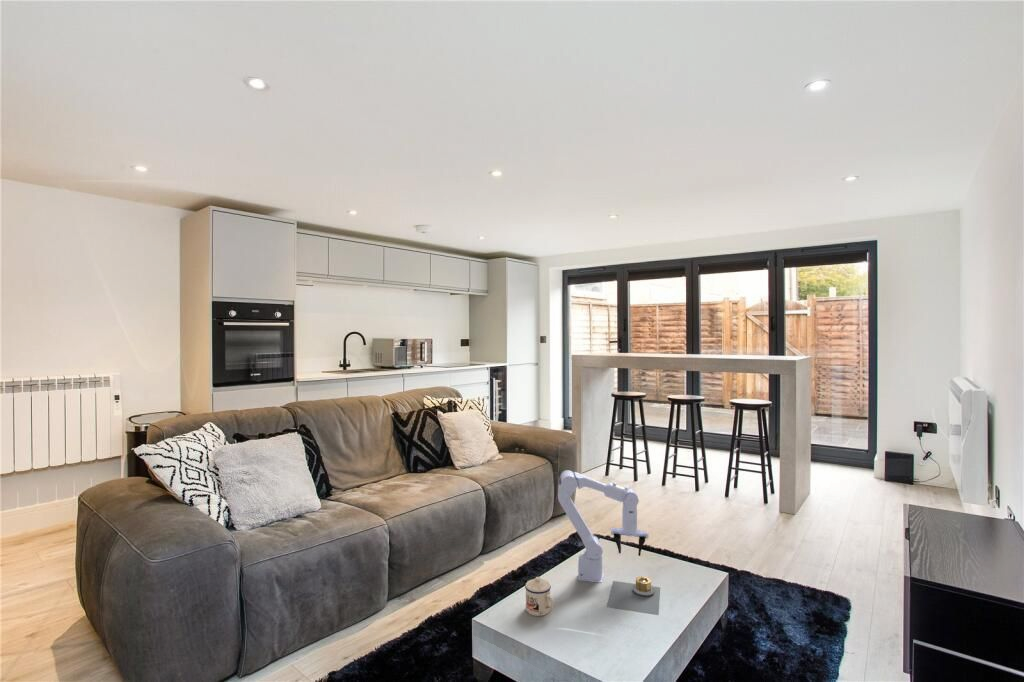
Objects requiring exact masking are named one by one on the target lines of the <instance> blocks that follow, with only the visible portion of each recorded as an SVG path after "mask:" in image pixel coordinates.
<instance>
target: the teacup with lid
mask: <svg viewBox="0 0 1024 682" xmlns="http://www.w3.org/2000/svg"><path fill="white" fill-rule="evenodd" d="M551 586H552V585H551V584H550V582H549V581H548V580H546V579H544V578H543V579H542V578H541V577H540V576H536V577H535V578H533V579H532V578H531V579H529V580H527V582H526V583H525V586H524V588H525V610H526V612H527V613H528V614H529V615H530V616H535V617H542V616H546V615H548V614H549V613H550V611H551V610H552V609H553V608H554V605H555V601H554V598H553V597H552V595H551V588H552V587H551Z"/></svg>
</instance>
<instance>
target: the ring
mask: <svg viewBox="0 0 1024 682" xmlns="http://www.w3.org/2000/svg"><path fill="white" fill-rule="evenodd" d="M642 579H643V580H646V581H647V582H641V581H640V580H642ZM635 584H636V589H637V590H638V591H640V592H648V591H651V586H652V585H651V584H652V579H650V578H649V577H646V576H638V577H636V578H635Z"/></svg>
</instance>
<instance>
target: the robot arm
mask: <svg viewBox="0 0 1024 682" xmlns="http://www.w3.org/2000/svg"><path fill="white" fill-rule="evenodd" d="M584 487H585V488H589V489H592V490H596V491H598V492H601V493H603V494H604V496H605V498H609V499H612V500H613V501H618V502H620V503H622V509H621V510H622V513H621V514H622V521H621V522H622V524H621V526H622V527H621V528H618V527H617V528H616V527H615V528H614V527H612V528H611V529H610V535H613V540H614V541H615V545H616V548H617V551H618V554H621V553H622V543H621V542H622V541H621V538H622V536H626V537H634V538H635V537H636V538H637V537H638V554H637V556H638V557H641V555H642V554H641V553H642V548H643V546H644V544H645V542H646V539H647V540H648V539H649V531H645V530H640V529H638V508H637V507H638V504H639V503H640V500H639V497H638V495H637V493H636V492H635V490H634V489H632V488H631V487H627V486H624V487H623V486H620V485H618V484H617V483H616V482H615V481H614V482H608V483H604V482H601V481H598V480H596V479H594V478H592V477H589V476H587V475H584V474H582V473H580V472H577V471H574V472H573V471H572V470H569V469H567V470H563V471H562V472H561V473H560V476H559V477H558V489H557V491H558V492H557V499H558V502H559V504H560V506H561V507H562V509H563V511H564V513H565V514H566V516H567V517H568V519H569V521H570V522H571V524H572V525H573V527H574V529H575V531H576V533H577V534H578V536H579V537H580V539H581V541H582V543H583V546H584V548H585V551H584V553H580V554H579V556H578V560H577V562H578V563H577V564H578V566H577V568H578V569H577V572H578V574H577V576H578V577H577V580H579V581H586V582H592V583H598V584H599V583H600V584H602V583H603V582H604V581H603V580H604V576H605V573H604V572H603V554H604V553H603V548H602V545H601V543H600V539H599V537H598V536H596V535H595V534H594V533H593V532H592V530H591V529H590V527H589V526H588V525H587V523H586V521H585V520H584V518H583V516H582V515H581V513H580V511H579V510H578V507H577V506H576V505H575V503H574V501H573V499H572V496H573V493H574V492H576V490H577V488H578V490H580V489H583V488H584Z"/></svg>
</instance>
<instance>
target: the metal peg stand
mask: <svg viewBox="0 0 1024 682" xmlns="http://www.w3.org/2000/svg"><path fill="white" fill-rule="evenodd" d="M640 581H641V582H647V581H646V580H643V579H642V580H640ZM634 584H635V585H633V592H634V593H635V594H636V595H638V596H642V597H650V596H652V595H654V587H655V586H654V587H653V585H651V591H648V592H640V591H638V590H637V589H636V583H634Z"/></svg>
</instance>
